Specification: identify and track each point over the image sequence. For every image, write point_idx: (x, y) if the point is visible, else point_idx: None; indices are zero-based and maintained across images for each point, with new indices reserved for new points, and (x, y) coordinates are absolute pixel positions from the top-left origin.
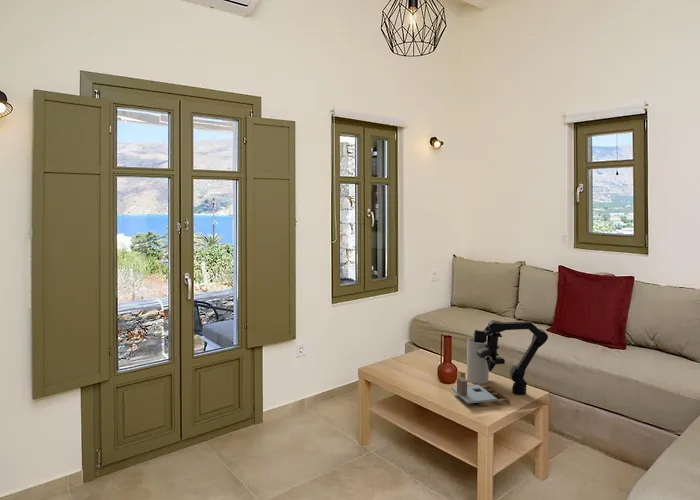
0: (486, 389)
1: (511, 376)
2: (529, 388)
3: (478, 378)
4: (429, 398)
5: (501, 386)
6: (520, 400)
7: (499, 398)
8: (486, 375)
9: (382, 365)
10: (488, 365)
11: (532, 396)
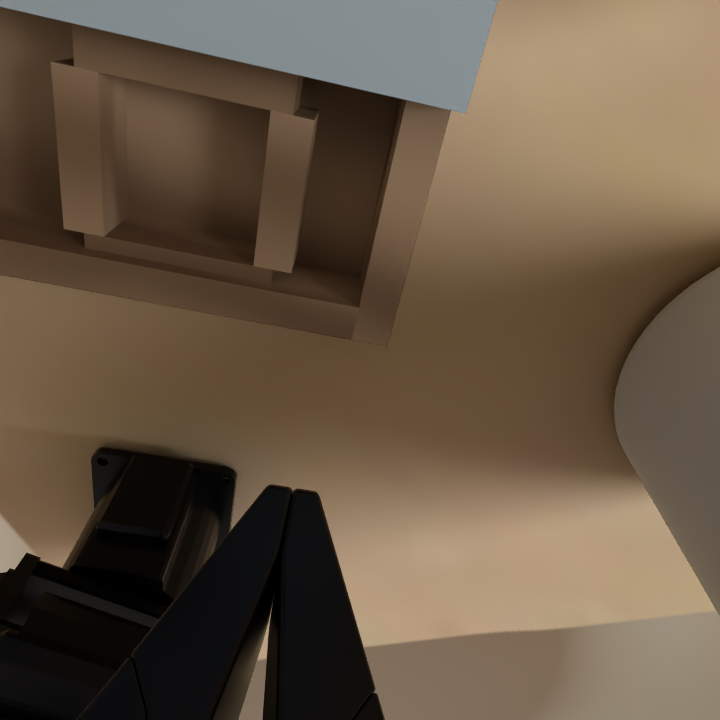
0: (295, 177)
1: (48, 666)
2: None
3: (717, 349)
4: None
5: (449, 498)
6: (9, 420)
7: (35, 202)
8: (662, 495)
9: None
10: (276, 667)
11: None
